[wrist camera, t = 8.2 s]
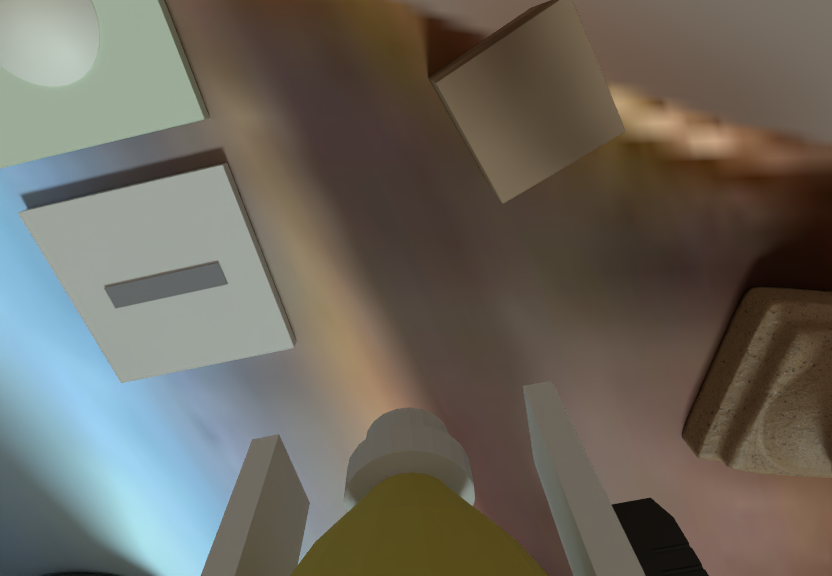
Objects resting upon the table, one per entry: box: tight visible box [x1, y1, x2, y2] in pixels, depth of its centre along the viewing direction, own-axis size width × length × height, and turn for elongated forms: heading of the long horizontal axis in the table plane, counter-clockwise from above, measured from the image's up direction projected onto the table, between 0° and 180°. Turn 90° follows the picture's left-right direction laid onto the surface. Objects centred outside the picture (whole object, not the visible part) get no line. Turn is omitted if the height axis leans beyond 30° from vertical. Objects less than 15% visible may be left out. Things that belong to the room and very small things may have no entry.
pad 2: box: [18, 162, 296, 383], centre depth 24 cm, size 10×10×1 cm
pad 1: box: [0, 0, 210, 168], centre depth 19 cm, size 10×10×1 cm
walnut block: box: [428, 0, 625, 203], centre depth 19 cm, size 5×5×5 cm
